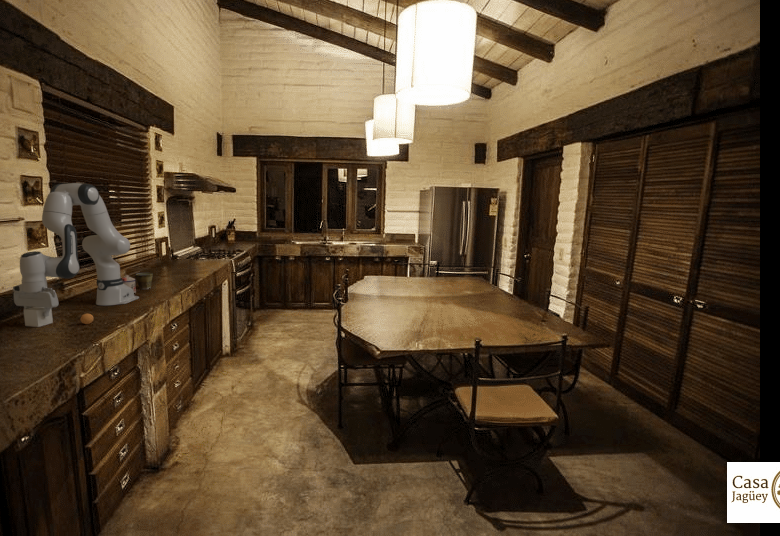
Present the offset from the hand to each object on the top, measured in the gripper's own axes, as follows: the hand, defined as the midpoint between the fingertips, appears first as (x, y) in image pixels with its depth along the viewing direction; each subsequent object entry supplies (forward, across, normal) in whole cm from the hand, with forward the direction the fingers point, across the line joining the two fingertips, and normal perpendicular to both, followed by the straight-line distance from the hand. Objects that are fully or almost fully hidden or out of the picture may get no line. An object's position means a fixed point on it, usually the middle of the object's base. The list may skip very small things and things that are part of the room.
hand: (38, 315), depth 192 cm
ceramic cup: (+5, +14, -84) cm, 85 cm away
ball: (+2, -20, -6) cm, 21 cm away
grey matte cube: (+4, 0, 0) cm, 4 cm away
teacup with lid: (+5, +12, -69) cm, 70 cm away
